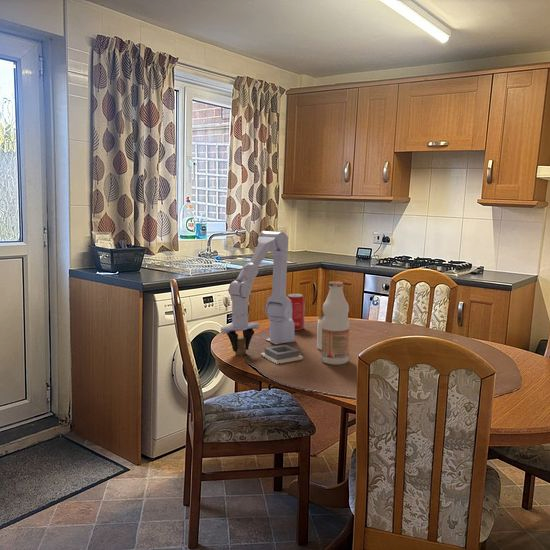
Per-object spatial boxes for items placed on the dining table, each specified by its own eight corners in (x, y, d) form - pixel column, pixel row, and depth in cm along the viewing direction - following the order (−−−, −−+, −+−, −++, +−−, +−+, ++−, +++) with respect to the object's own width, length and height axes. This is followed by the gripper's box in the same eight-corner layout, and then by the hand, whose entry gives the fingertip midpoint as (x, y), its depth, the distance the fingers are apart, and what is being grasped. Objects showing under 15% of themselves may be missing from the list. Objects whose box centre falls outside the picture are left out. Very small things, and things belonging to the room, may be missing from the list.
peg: (243, 352, 200) (242, 336, 199) (247, 354, 196) (247, 338, 195) (233, 353, 198) (233, 337, 197) (238, 356, 194) (237, 340, 193)
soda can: (284, 330, 231) (284, 296, 228) (288, 326, 238) (289, 292, 236) (301, 331, 228) (302, 297, 226) (306, 327, 236) (306, 293, 233)
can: (314, 347, 205) (314, 316, 204) (329, 345, 208) (329, 315, 206) (322, 352, 199) (322, 320, 198) (337, 349, 202) (337, 318, 200)
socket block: (286, 351, 200) (286, 343, 200) (302, 359, 191) (303, 351, 190) (260, 355, 195) (260, 347, 194) (276, 364, 185) (276, 355, 185)
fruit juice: (316, 362, 188) (317, 283, 183) (329, 355, 195) (331, 279, 191) (340, 367, 182) (341, 285, 178) (353, 360, 190) (354, 281, 186)
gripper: (226, 318, 187) (227, 355, 190) (262, 313, 195) (263, 349, 197) (218, 314, 193) (218, 350, 196) (253, 309, 201) (254, 345, 203)
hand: (240, 350), depth 197 cm, fingers closed on peg, 4 cm apart
